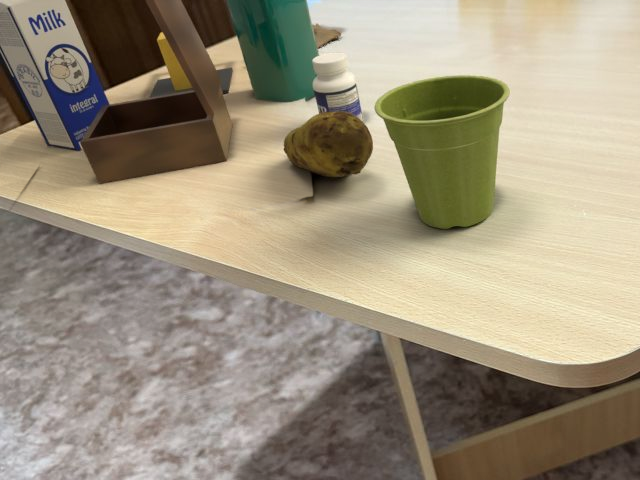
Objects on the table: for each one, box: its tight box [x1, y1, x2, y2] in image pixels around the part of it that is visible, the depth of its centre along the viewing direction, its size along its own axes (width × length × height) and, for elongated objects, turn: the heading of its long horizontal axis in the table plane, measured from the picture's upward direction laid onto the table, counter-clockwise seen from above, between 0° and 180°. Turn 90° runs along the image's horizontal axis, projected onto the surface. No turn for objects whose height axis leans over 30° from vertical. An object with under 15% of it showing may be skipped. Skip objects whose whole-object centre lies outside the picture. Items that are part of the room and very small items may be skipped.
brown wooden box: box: [80, 87, 234, 185], centre depth 84 cm, size 15×13×6 cm
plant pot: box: [373, 74, 511, 230], centre depth 63 cm, size 12×12×11 cm
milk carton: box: [0, 0, 110, 152], centre depth 87 cm, size 7×7×20 cm
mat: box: [148, 67, 234, 98], centre depth 108 cm, size 12×12×1 cm
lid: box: [145, 0, 222, 116], centre depth 77 cm, size 15×13×5 cm
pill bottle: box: [312, 52, 366, 125], centre depth 84 cm, size 5×5×9 cm
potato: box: [283, 111, 374, 178], centre depth 73 cm, size 8×13×8 cm, turn 24°
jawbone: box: [312, 22, 342, 49], centre depth 118 cm, size 9×20×2 cm, turn 161°
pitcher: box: [226, 0, 320, 103], centre depth 93 cm, size 10×8×22 cm
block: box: [156, 31, 192, 91], centre depth 105 cm, size 4×4×8 cm
